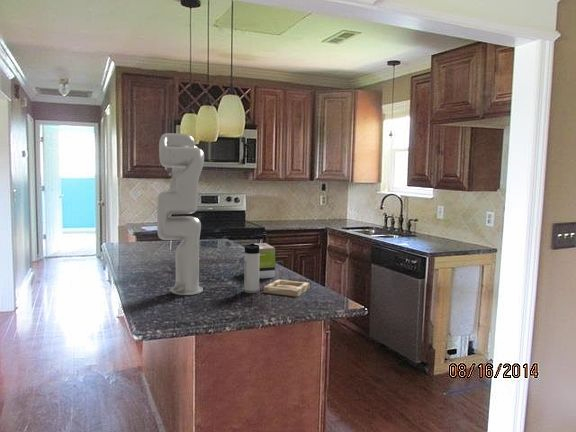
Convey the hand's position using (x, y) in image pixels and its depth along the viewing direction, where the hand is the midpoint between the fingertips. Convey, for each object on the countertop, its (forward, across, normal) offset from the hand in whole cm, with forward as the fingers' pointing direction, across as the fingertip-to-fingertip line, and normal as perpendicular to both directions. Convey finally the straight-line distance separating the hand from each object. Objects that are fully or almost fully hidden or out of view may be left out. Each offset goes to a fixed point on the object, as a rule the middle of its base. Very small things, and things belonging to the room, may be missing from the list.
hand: (180, 209), depth 236 cm
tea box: (+31, +36, -21) cm, 52 cm away
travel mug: (+31, +23, -50) cm, 63 cm away
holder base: (+31, +38, -53) cm, 72 cm away
